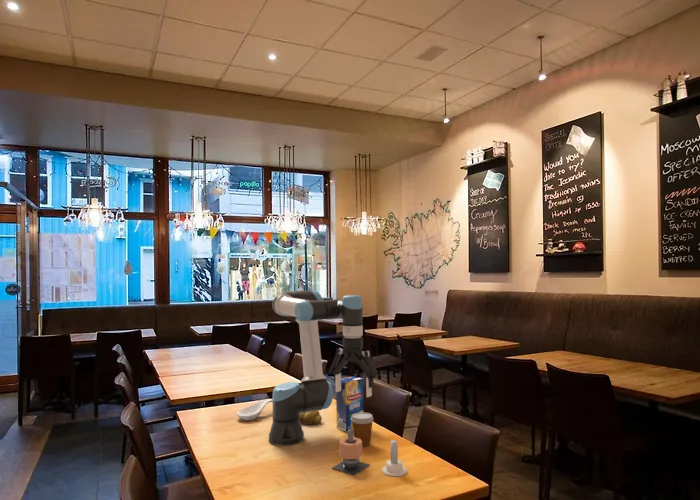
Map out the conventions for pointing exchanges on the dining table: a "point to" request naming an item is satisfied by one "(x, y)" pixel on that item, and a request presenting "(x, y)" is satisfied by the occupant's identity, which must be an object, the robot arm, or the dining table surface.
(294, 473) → the dining table surface
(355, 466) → the stand
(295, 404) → the robot arm
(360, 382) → the beverage box
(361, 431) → the disposable coffee cup
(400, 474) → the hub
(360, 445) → the collar
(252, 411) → the spoon rest
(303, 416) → the bread roll
